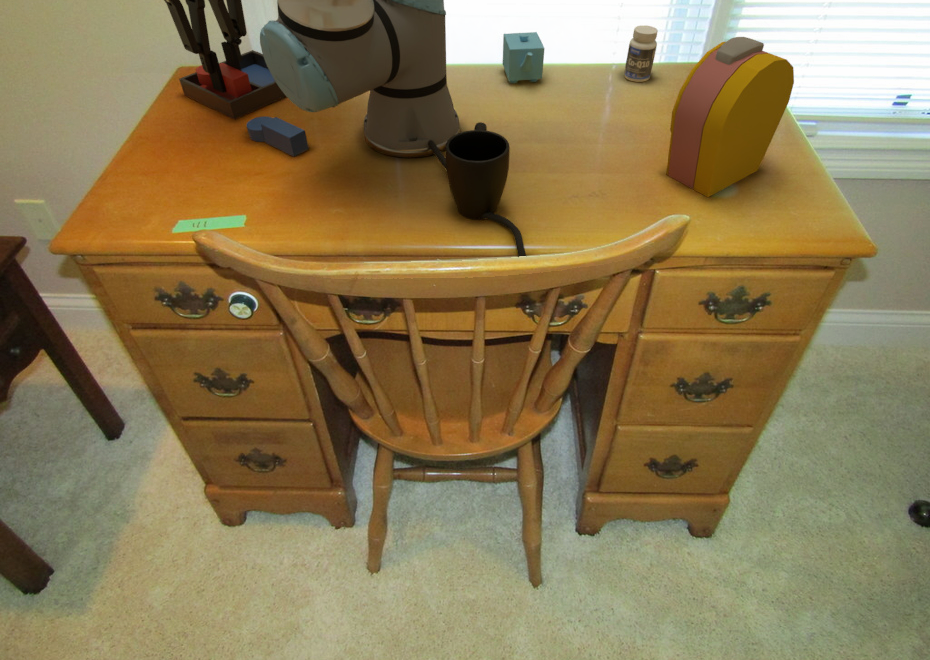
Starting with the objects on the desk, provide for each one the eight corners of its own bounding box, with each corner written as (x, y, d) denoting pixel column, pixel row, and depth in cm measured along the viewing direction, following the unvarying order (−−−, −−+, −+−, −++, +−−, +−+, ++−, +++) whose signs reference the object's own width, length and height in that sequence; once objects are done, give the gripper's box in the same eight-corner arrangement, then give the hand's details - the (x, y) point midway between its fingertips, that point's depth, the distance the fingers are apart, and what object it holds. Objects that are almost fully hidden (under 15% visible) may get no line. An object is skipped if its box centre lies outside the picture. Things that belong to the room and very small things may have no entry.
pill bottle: (622, 80, 114) (630, 32, 108) (625, 70, 118) (633, 22, 112) (648, 83, 113) (658, 35, 107) (651, 73, 117) (660, 25, 111)
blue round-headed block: (312, 147, 99) (309, 128, 97) (289, 159, 97) (285, 140, 94) (266, 125, 104) (261, 106, 102) (243, 135, 102) (238, 117, 99)
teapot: (545, 92, 112) (548, 49, 106) (511, 94, 111) (513, 50, 106) (532, 64, 120) (535, 22, 114) (501, 65, 119) (502, 24, 114)
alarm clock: (719, 144, 98) (756, 20, 85) (764, 166, 94) (811, 39, 81) (654, 176, 92) (683, 48, 79) (699, 201, 87) (739, 69, 74)
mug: (511, 178, 92) (513, 117, 85) (504, 227, 84) (507, 163, 77) (455, 175, 93) (453, 114, 86) (443, 223, 84) (440, 160, 78)
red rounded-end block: (256, 90, 108) (251, 72, 106) (233, 100, 106) (228, 81, 103) (216, 72, 113) (211, 53, 111) (193, 80, 111) (188, 62, 108)
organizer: (307, 86, 114) (304, 70, 112) (234, 119, 106) (229, 102, 103) (256, 65, 121) (252, 49, 119) (184, 95, 112) (178, 78, 110)
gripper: (216, -87, 98) (253, 64, 115) (120, -64, 89) (175, 96, 106) (246, -79, 94) (280, 76, 111) (149, -55, 86) (202, 109, 103)
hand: (229, 85), depth 109 cm, fingers closed on red rounded-end block, 3 cm apart
